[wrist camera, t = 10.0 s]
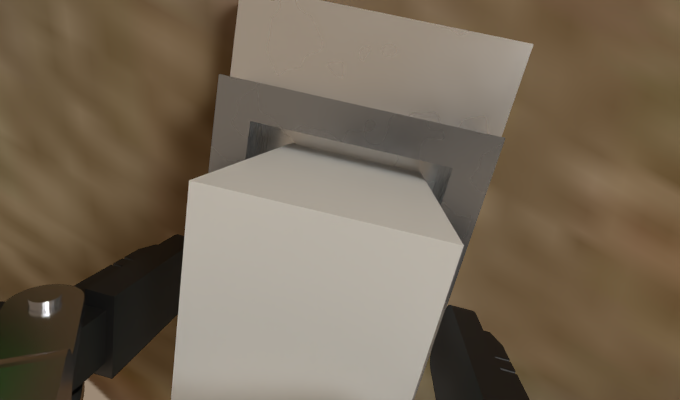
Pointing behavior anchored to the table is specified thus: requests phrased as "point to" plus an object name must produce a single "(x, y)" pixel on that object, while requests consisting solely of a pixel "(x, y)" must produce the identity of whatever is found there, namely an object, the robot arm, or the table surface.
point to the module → (310, 279)
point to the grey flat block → (371, 96)
